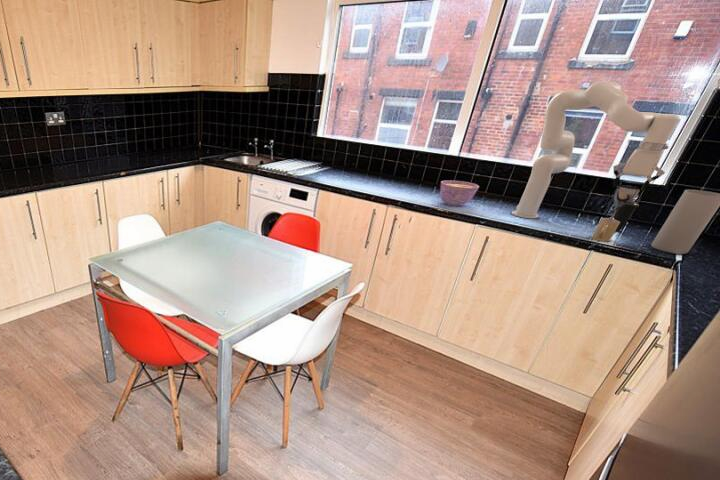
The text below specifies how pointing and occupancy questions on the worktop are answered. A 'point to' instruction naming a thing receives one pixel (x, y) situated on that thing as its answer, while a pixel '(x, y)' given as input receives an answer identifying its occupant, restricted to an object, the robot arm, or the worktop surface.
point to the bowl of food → (457, 192)
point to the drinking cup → (625, 214)
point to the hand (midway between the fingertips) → (627, 188)
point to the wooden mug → (605, 230)
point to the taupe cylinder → (686, 221)
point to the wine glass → (622, 199)
